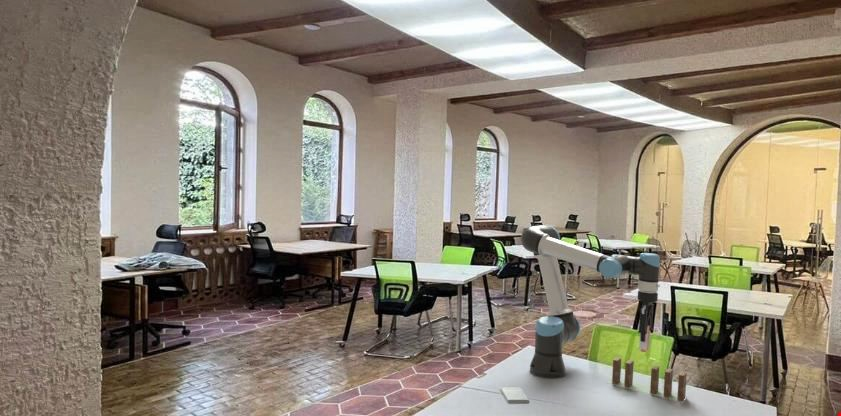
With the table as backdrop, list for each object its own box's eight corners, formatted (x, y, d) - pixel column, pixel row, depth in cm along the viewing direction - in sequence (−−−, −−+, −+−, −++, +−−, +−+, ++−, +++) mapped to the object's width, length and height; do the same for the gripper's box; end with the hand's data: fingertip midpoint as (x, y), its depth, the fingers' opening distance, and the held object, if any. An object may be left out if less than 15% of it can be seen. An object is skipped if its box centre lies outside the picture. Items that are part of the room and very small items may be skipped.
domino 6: (677, 400, 205) (678, 374, 204) (680, 396, 209) (681, 371, 208) (682, 401, 204) (683, 375, 203) (685, 397, 208) (686, 372, 207)
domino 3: (640, 351, 216) (642, 327, 216) (643, 348, 220) (645, 324, 220) (645, 352, 215) (646, 328, 215) (648, 349, 219) (649, 325, 219)
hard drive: (529, 399, 199) (520, 386, 211) (507, 399, 198) (500, 386, 210) (529, 404, 199) (520, 391, 211) (507, 404, 198) (500, 391, 210)
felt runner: (607, 383, 220) (607, 383, 220) (613, 378, 227) (613, 378, 227) (683, 403, 203) (683, 402, 203) (687, 397, 209) (688, 396, 209)
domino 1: (611, 383, 220) (613, 359, 220) (615, 380, 224) (617, 357, 224) (616, 384, 219) (617, 360, 219) (620, 381, 223) (621, 357, 223)
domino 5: (663, 396, 208) (664, 371, 208) (666, 392, 212) (668, 368, 211) (668, 397, 207) (669, 372, 206) (671, 394, 211) (672, 369, 210)
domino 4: (650, 393, 211) (651, 368, 211) (653, 389, 215) (654, 365, 215) (654, 394, 210) (656, 369, 209) (658, 390, 214) (659, 366, 213)
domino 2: (624, 386, 217) (625, 362, 217) (628, 383, 221) (629, 359, 221) (628, 387, 216) (630, 363, 216) (632, 384, 220) (633, 360, 220)
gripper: (652, 296, 207) (649, 354, 208) (662, 289, 222) (659, 344, 223) (632, 293, 211) (629, 350, 213) (643, 286, 226) (640, 340, 227)
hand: (644, 347), depth 218 cm, fingers closed on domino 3, 5 cm apart
